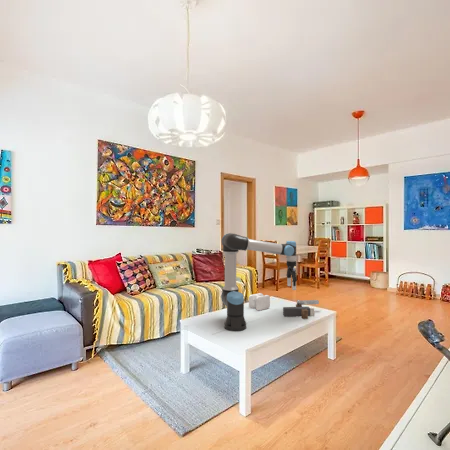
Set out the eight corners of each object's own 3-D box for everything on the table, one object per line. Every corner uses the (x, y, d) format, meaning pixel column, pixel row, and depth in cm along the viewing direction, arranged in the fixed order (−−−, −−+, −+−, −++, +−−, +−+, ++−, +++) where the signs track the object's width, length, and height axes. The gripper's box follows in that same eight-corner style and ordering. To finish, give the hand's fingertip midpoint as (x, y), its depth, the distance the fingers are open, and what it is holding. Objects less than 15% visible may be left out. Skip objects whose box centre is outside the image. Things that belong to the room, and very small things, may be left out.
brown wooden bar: (302, 318, 214) (302, 310, 214) (295, 311, 231) (295, 304, 231) (308, 318, 214) (307, 310, 214) (300, 311, 231) (300, 304, 231)
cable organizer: (256, 311, 232) (256, 297, 232) (248, 308, 241) (248, 294, 241) (270, 308, 240) (270, 294, 240) (261, 305, 249) (261, 292, 249)
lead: (284, 316, 219) (284, 309, 219) (283, 314, 224) (283, 307, 224) (314, 316, 220) (314, 308, 220) (311, 314, 225) (311, 306, 225)
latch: (318, 304, 229) (318, 300, 229) (297, 305, 228) (297, 301, 228) (317, 303, 232) (317, 299, 232) (296, 303, 231) (296, 300, 231)
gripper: (282, 258, 234) (282, 284, 234) (291, 263, 209) (291, 291, 209) (291, 258, 234) (291, 284, 234) (301, 262, 209) (301, 291, 209)
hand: (291, 288), depth 222 cm, fingers open, 13 cm apart
